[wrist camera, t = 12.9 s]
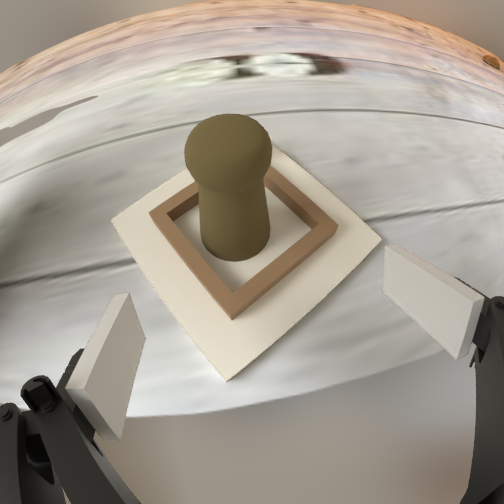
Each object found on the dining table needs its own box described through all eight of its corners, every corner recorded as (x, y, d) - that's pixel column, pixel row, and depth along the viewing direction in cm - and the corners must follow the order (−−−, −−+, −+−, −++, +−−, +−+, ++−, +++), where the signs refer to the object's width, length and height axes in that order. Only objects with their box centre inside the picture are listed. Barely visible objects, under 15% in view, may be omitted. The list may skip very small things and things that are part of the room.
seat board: (115, 226, 26) (97, 202, 23) (253, 138, 31) (253, 109, 28) (227, 381, 20) (221, 381, 17) (377, 244, 26) (395, 222, 22)
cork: (201, 202, 26) (179, 104, 16) (267, 199, 26) (275, 99, 16) (199, 263, 23) (165, 174, 13) (273, 260, 24) (288, 167, 14)
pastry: (491, 67, 58) (494, 60, 55) (478, 57, 61) (481, 50, 57) (499, 70, 60) (502, 63, 56) (487, 60, 62) (490, 53, 59)
